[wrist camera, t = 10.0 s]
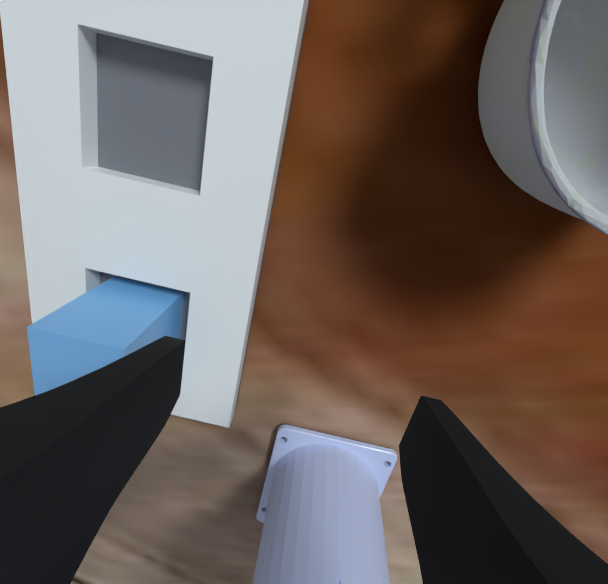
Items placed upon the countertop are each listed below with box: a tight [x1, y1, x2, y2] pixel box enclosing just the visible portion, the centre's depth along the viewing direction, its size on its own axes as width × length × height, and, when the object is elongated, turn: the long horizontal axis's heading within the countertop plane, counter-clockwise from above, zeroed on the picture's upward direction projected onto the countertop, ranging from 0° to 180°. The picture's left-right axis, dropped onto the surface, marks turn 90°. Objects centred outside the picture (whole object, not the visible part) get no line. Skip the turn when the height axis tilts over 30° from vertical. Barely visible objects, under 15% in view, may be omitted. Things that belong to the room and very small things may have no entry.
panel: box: [0, 0, 309, 428], centre depth 18 cm, size 22×12×2 cm, turn 168°
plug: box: [27, 276, 184, 396], centre depth 18 cm, size 4×4×6 cm
